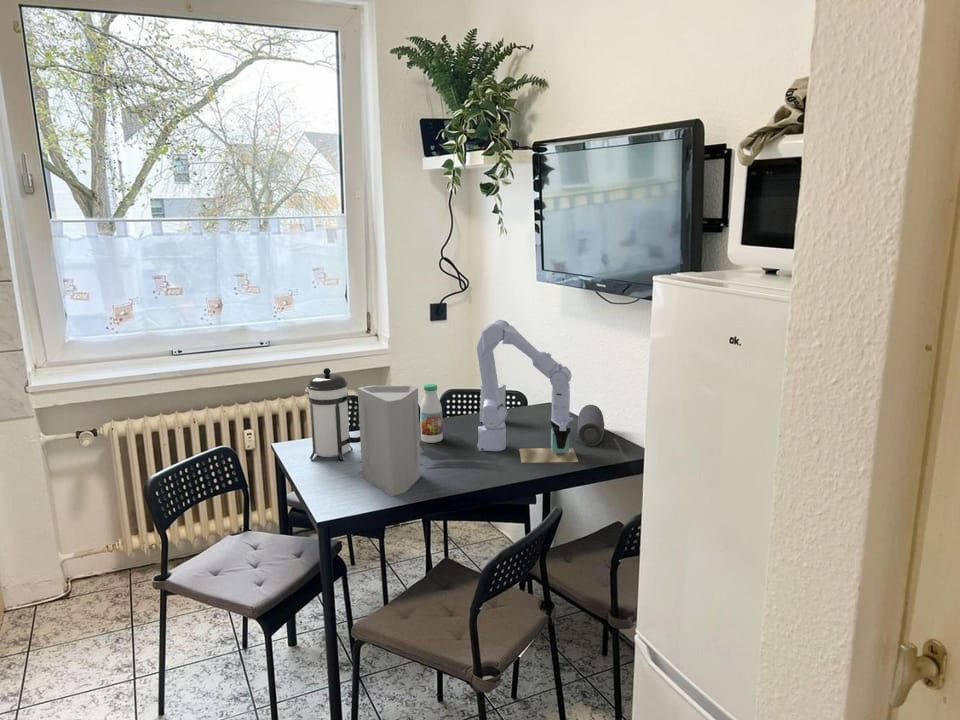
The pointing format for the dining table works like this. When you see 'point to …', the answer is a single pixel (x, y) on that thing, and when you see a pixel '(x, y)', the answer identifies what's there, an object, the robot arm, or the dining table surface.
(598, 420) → the bluetooth speaker
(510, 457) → the dining table surface
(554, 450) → the teal foam brick
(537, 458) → the base board
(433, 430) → the milk bottle
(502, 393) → the skincare box
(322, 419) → the coffee press
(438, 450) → the dining table surface
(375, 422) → the hollow triangular prism
